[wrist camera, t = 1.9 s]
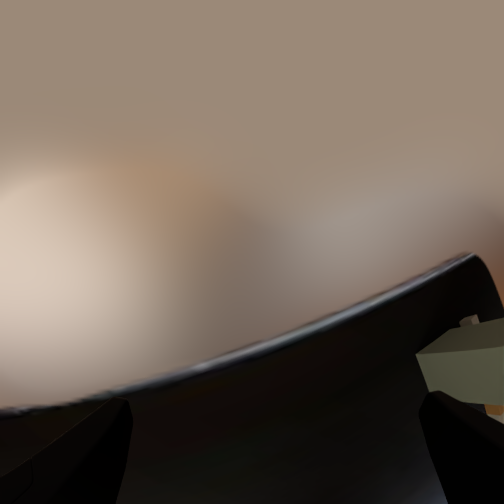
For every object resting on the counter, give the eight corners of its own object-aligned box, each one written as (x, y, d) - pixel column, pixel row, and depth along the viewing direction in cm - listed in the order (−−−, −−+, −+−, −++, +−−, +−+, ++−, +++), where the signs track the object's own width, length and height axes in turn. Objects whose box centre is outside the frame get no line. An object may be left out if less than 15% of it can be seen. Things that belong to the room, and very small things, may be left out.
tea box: (465, 369, 25) (555, 363, 13) (431, 397, 24) (524, 406, 12) (450, 328, 26) (542, 306, 14) (415, 354, 25) (510, 345, 13)
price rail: (500, 437, 22) (513, 439, 20) (493, 444, 22) (506, 447, 19) (466, 315, 26) (480, 312, 24) (458, 322, 26) (472, 319, 24)
